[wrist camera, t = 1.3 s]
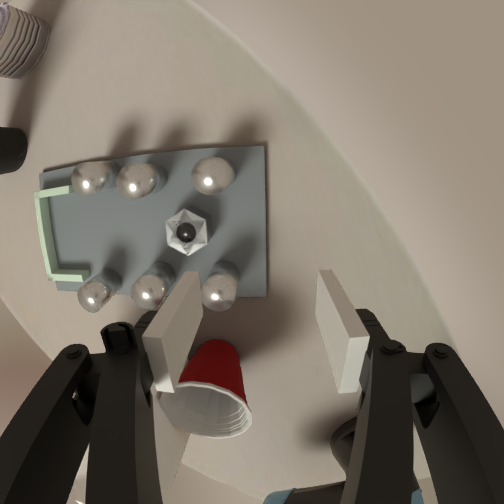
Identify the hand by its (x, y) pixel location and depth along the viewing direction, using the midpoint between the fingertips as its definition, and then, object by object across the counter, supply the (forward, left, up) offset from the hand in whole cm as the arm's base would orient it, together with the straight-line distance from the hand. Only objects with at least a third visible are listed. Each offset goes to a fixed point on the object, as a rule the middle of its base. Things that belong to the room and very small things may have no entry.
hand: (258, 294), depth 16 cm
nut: (0, +8, -18) cm, 20 cm away
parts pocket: (0, +27, -19) cm, 33 cm away
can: (+32, +37, -19) cm, 53 cm away
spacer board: (0, +15, -19) cm, 24 cm away
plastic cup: (-19, +7, -19) cm, 28 cm away
